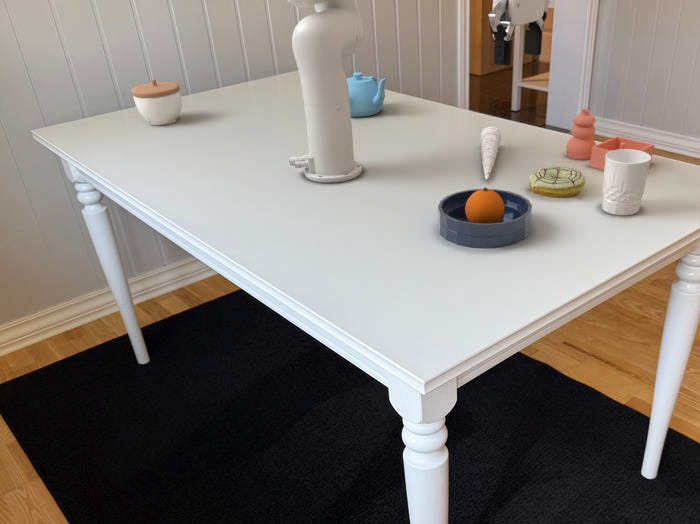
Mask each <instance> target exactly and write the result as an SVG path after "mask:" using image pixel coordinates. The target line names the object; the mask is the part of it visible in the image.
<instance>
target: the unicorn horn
mask: <svg viewBox="0 0 700 524" xmlns="http://www.w3.org/2000/svg"><path fill="white" fill-rule="evenodd" d="M501 141H502V133H501V130H500V129H499V128H498V127H496V126H487V127H485V128H484V129H482V131H481V133H480V146H481V147H480V152H481V160H482V161H481V162H482V170H483V175H484V179H485V180H486V181H487V180H489V178H490V176H491V173H492V170H493V168H494V165H495V162H496V158H497V155H498V153H499V148H500V145H501Z"/></svg>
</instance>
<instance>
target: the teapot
mask: <svg viewBox="0 0 700 524" xmlns="http://www.w3.org/2000/svg"><path fill="white" fill-rule="evenodd" d="M363 74H364V73H363V72H360V71H359V72H358V71H357V72H354V73H352V76H350V77H346V78H347V82H348V89H349V99H350V112H351V118H352V117H353V118H355V117H356V118H361V117H363V118H364V117H369V116H374V115H377V114H378V113H379V112H380V111H381V110H382V109H383V107H384V101H385V97H386V92H385V91H386V90H385V83H386V82H387V80H388V79H389V77H386V78H382V79H380V81H378V78H377V77H376V76H374V75H369V76H363Z"/></svg>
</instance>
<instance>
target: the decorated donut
mask: <svg viewBox="0 0 700 524" xmlns="http://www.w3.org/2000/svg"><path fill="white" fill-rule="evenodd" d="M528 179H529V189H530V190H531V192H532V193H534V194H537V195H541V196H544V197H549V198H558V199H561V198H570V197H576V196H578V195H579V194H580V193H581V192H582V190H584V187H585V184H586V176H585V174H584V173H583V172H581V171H580V170H579V169H575V168H573V167H568V166H567V167H562V166H551V167H545V168H541V169H539V170H537V171H535V172H533V173H532V174H530V176H529V178H528Z"/></svg>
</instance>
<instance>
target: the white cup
mask: <svg viewBox="0 0 700 524" xmlns="http://www.w3.org/2000/svg"><path fill="white" fill-rule="evenodd" d="M650 162H651V156H650V155H649V154H648V153H646V152H643V151H639V150H632V149H619V150H613V151H610V152H608V153H607V154H606V157H605V168H604V170H603V180H602V199H601V208H602V210H603V211H604V212H606V213H608V214H611V215H614V216H633V215H635V214H637V213H638V212H639V211H640V208H641V205H642V199H643V196H644V192H645V187H646V184H647V180H648V176H649V172H650V166H651V165H650ZM651 163H652V162H651Z"/></svg>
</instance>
